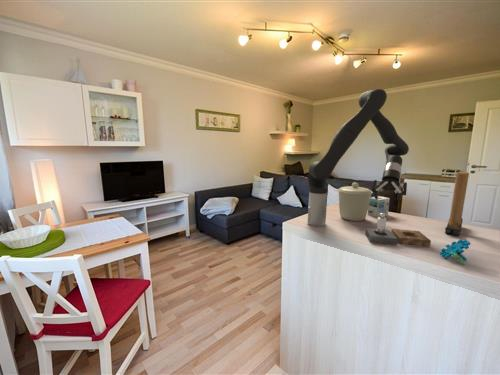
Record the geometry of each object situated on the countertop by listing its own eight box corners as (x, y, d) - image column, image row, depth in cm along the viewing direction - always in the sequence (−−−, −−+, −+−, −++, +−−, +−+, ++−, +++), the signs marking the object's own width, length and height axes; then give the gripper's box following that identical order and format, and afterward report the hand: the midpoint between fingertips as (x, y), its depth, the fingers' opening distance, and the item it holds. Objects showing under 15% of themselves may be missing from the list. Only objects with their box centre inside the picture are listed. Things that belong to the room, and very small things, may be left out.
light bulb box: (377, 217, 130) (379, 199, 128) (366, 214, 136) (368, 197, 134) (388, 215, 135) (390, 197, 133) (377, 212, 141) (379, 195, 139)
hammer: (458, 241, 102) (468, 179, 93) (443, 238, 105) (452, 178, 96) (462, 224, 115) (472, 167, 106) (449, 221, 118) (457, 167, 109)
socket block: (370, 242, 96) (370, 236, 95) (365, 234, 105) (365, 228, 105) (396, 245, 93) (397, 238, 92) (388, 236, 102) (389, 230, 102)
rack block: (399, 244, 94) (400, 237, 93) (390, 234, 104) (391, 228, 104) (429, 247, 91) (430, 240, 90) (418, 237, 101) (418, 231, 101)
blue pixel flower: (438, 245, 89) (466, 234, 82) (451, 258, 87) (480, 247, 81) (437, 259, 81) (467, 248, 74) (450, 273, 79) (483, 263, 73)
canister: (376, 223, 119) (380, 185, 116) (342, 223, 120) (345, 185, 116) (360, 214, 137) (363, 180, 133) (331, 213, 137) (333, 180, 134)
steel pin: (376, 240, 98) (379, 214, 96) (374, 237, 101) (377, 212, 99) (384, 241, 97) (387, 214, 95) (382, 238, 100) (385, 212, 98)
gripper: (375, 167, 114) (369, 193, 107) (409, 169, 105) (405, 197, 98) (376, 177, 119) (370, 202, 112) (408, 179, 110) (404, 206, 103)
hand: (386, 199), depth 105 cm, fingers open, 8 cm apart
